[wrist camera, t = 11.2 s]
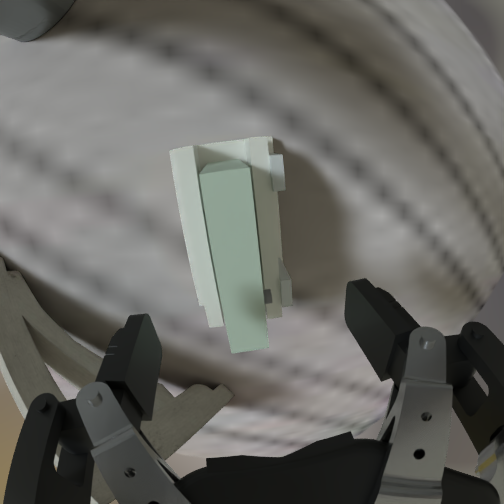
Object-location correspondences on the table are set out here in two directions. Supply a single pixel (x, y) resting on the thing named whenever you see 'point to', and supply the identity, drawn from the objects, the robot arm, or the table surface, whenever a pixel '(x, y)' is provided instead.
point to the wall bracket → (84, 375)
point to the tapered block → (236, 252)
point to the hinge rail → (266, 214)
